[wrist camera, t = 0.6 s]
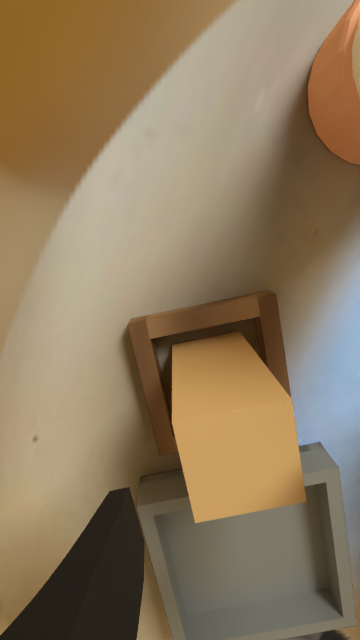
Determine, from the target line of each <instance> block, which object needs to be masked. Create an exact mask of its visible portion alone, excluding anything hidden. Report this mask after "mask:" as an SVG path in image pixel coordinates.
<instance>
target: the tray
mask: <svg viewBox="0 0 360 640" xmlns="http://www.w3.org/2000/svg"><path fill="white" fill-rule="evenodd" d="M299 453H300V460H301V467H302V474H303V481H304V488H305V495H306V501H307V502H303V503H298V504H293V505H288V506H283V507H277V508H272V509H267V510H262V511H256V512H251V513H246V514H241V515H236V516H230V517H225V518H220V519H215V520H209V521H204V522H199V523H195V520H194V516H193V512H192V507H191V503H190V499H189V494H188V490H187V486H186V481H185V477H184V473H183V469H180V470H175V471H170V472H165V473H160V474H155V475H150V476H144V477H140V484H139V492H138V499H137V506H136V507H137V510H138V514H139V518H140V521H141V525H142V529H143V532H144V536H145V540H146V543H147V547H148V551H149V554H150V558H151V561H152V565H153V569H154V572H155V576H156V580H157V583H158V587H159V591H160V594H161V598H162V602H163V605H164V609H165V613H166V616H167V620H168V624H169V627H170V631H171V635H172V638H173V640H280V639H286V638H291V637H297V636H302V635H307V634H313V633H318V632H324V631H329V630H335V629H340V628H346V627H351V626H357V619H356V610H355V602H354V593H353V585H352V576H351V568H350V559H349V551H348V542H347V534H346V525H345V517H344V508H343V500H342V491H341V483H340V474H339V467H338V466H337V465H336V463H335V462H334V460H333V459H332V458H331V456H330V455H329V454H328V452H327V451H326V450H325V448H324V447H323V446H322V444H321V443H320V442H319V443H313V444H308V445H303V446H299Z"/></svg>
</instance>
